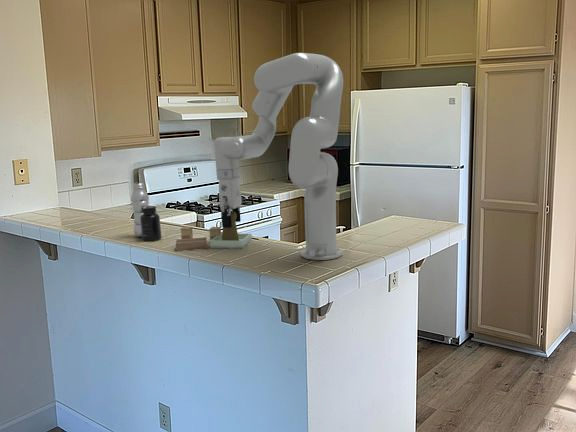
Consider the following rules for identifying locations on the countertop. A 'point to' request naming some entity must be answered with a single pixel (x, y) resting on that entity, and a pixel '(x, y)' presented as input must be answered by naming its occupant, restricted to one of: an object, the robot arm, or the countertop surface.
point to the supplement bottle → (150, 224)
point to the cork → (231, 229)
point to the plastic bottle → (139, 205)
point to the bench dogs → (187, 233)
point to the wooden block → (191, 244)
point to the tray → (242, 242)
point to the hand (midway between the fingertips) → (231, 224)
